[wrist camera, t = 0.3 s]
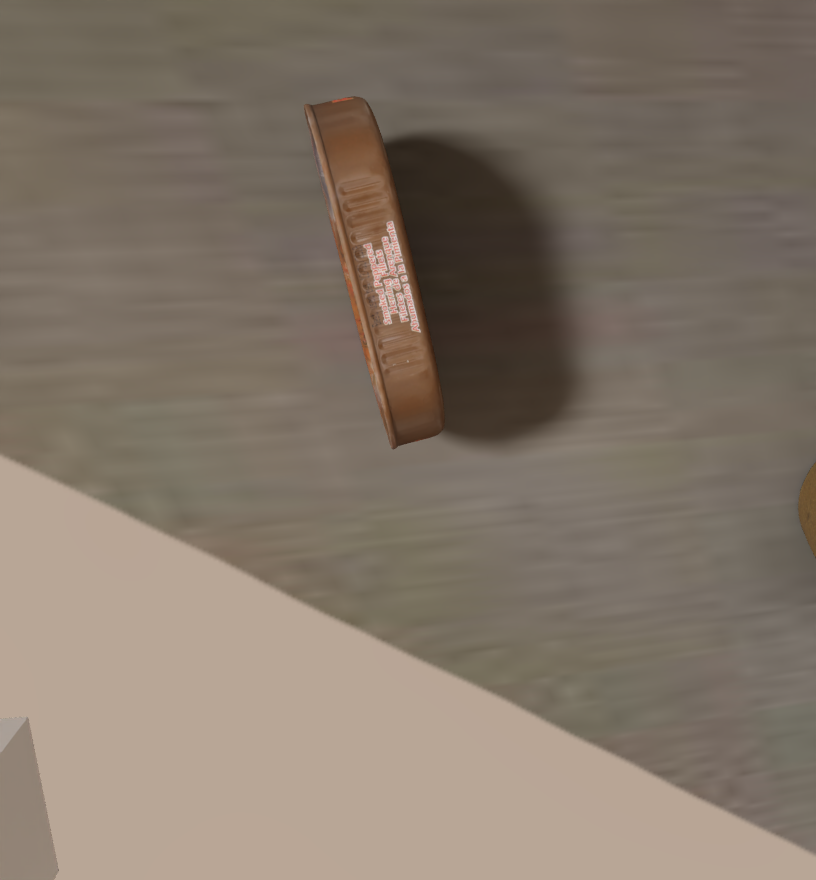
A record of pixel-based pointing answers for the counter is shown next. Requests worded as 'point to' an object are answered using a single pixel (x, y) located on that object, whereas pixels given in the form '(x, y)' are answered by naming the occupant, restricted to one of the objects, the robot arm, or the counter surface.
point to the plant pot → (809, 508)
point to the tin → (377, 267)
